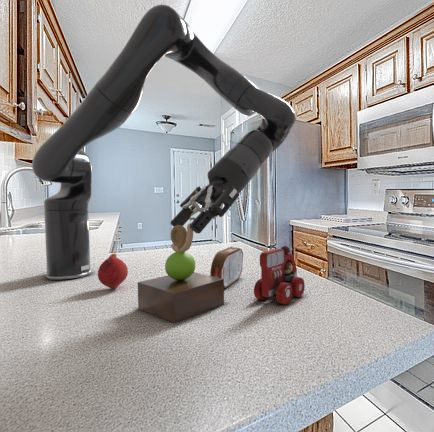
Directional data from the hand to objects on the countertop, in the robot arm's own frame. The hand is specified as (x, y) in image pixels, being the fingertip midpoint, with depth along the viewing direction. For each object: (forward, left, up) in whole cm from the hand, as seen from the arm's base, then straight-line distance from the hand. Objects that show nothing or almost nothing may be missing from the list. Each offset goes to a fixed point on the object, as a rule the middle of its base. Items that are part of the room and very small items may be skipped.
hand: (183, 228), depth 57 cm
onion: (-22, -2, -15) cm, 27 cm away
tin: (-4, +16, -15) cm, 22 cm away
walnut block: (0, 0, -15) cm, 15 cm away
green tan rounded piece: (0, 0, -10) cm, 10 cm away
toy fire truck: (+12, +15, -15) cm, 24 cm away
